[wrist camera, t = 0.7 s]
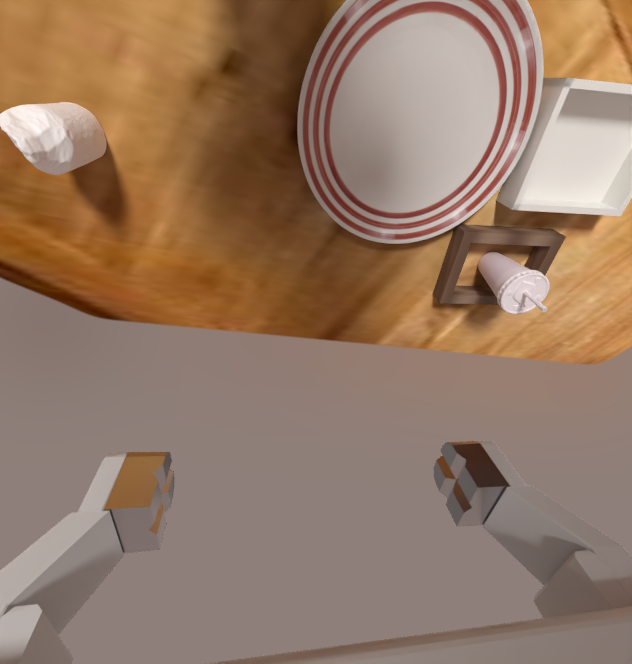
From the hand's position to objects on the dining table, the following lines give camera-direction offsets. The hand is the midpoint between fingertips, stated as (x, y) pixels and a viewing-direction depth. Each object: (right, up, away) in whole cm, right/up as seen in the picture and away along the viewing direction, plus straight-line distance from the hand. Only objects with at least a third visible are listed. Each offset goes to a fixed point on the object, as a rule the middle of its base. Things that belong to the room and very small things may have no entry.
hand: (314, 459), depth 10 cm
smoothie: (+27, +15, +42) cm, 52 cm away
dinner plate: (+11, +29, +31) cm, 43 cm away
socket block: (+27, +15, +42) cm, 52 cm away
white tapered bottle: (-27, +27, +28) cm, 47 cm away
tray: (+33, +27, +33) cm, 54 cm away
